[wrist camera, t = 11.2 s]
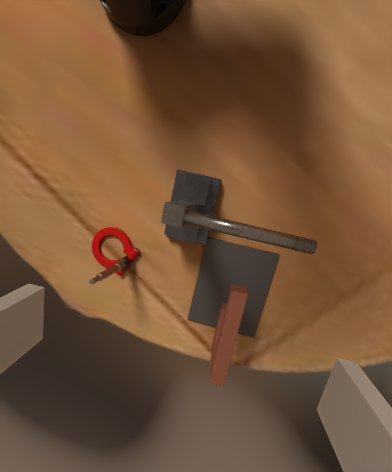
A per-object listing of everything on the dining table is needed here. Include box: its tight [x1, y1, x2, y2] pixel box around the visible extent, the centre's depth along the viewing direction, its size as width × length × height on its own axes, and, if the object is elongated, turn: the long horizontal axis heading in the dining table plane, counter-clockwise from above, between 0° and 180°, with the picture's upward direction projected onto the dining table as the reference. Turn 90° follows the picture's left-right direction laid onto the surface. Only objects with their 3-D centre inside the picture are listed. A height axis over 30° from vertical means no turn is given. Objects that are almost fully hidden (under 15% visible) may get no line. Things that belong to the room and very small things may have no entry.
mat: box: [188, 237, 279, 338], centre depth 44 cm, size 18×14×1 cm
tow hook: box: [89, 227, 140, 284], centre depth 40 cm, size 8×13×9 cm
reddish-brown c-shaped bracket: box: [210, 285, 248, 386], centre depth 40 cm, size 10×2×17 cm
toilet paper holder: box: [161, 170, 317, 254], centre depth 33 cm, size 12×20×18 cm, turn 77°
